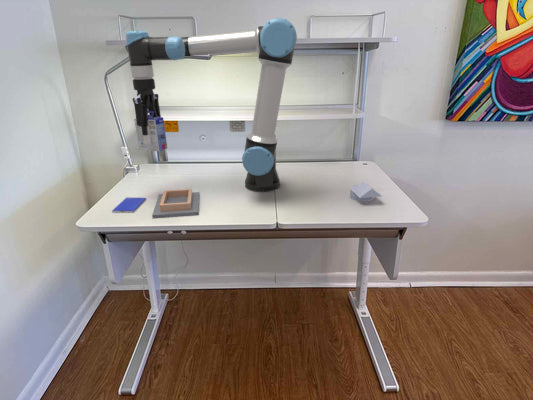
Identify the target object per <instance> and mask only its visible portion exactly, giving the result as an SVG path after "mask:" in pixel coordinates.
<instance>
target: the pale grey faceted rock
mask: <svg viewBox="0 0 533 400" xmlns="http://www.w3.org/2000/svg"><path fill="white" fill-rule="evenodd" d="M349 192H350V193H349V198H350V199H352V200H354V201H358V202H368V201H372V200H373V199H374V198H378V197H382V195H381V194H380V193H379V192H378V191H377V190H375V189H374V188H373V187H372V186H370V185H369V184H368V183H366V182H365V181H361V182H359V184H357V185H352V186H351V187H350V190H349Z"/></svg>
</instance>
